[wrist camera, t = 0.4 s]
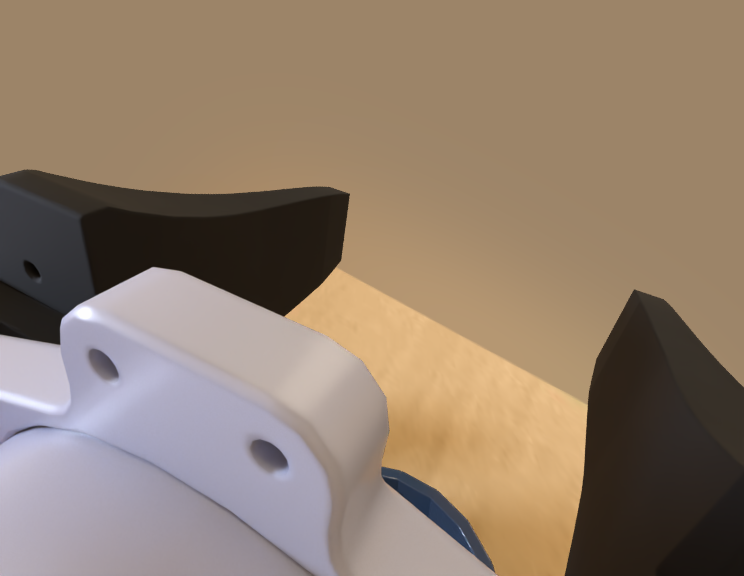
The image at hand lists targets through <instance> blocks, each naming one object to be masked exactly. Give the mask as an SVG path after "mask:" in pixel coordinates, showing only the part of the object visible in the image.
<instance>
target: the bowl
mask: <svg viewBox="0 0 744 576" xmlns="http://www.w3.org/2000/svg"><path fill="white" fill-rule="evenodd" d="M381 476H382V478H383V480H384V481H385V482H386V483H387V484H388V485H389V486H390V487H392V488H393V489H394V490H395V491H397V492H398V493H399V494H400V495H401V496H403V497H404V498H405V499H406V500H407V501H409V502H410V503H411V504H412V505H413V506H415V507H416V508H417V509H418V510H419V511H421V512H422V513H423V514H424V515H425V516H427V517H428V518H429V519H430V520H432V521H433V522H434V523H435V524H436V525H438V526H439V527H440V528H441V529H442V530H444V531H445V532H446V533H447V534H448V535H450V536H451V537H452V538H453V539H454V540H456V541H457V542H458V543H459V544H460V545H462V546H463V547H464V548H465V549H467V550H468V551H469V552H470V553H471V554H473V555H474V556H475V557H476V558H477V559H479V560H480V561H481V562H482V563H483V564H485V565H486V566H487V567H488V568H489V569H491V570H492V571H493V572H494V573H495V570H494V567H493V564H492V561H491V560H490V558H489V556H488V554H487V553H486V551H485V549H484V547H483V546H482V544H481V542H480V540H479V539H478V537H477V535H476V533H475V532H474V530H473V528H472V526H471V525H470V523H469V522H468V520H467V519H466V518H465V517H464V516H463V515H462V514H461V513H460V512H459V511H458V510H457V509H456V508H455V507H454V506H453V505H452V504H451V503H450V502H449V501H448V500H447V499H446V498H445V497H444V496H443V495H442V494H441V493H440V492H439V491H437V490H436V489H434V488H432V487H431V486H429V485H427V484H425V483H423V482H421V481H420V480H418V479H416V478H414V477H412V476H410V475H409V474H407V473H405V472H403V471H402V472H401V471H400V470H395V469H391V468H386V467H381Z"/></svg>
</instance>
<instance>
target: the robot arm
mask: <svg viewBox="0 0 744 576" xmlns="http://www.w3.org/2000/svg"><path fill="white" fill-rule="evenodd" d="M349 196H350V194H348V193H346V192H342V191H340V190H337V189H334V188H331V187H303V188H293V189H282V190H273V191H263V192H248V193H234V194H180V193H167V192H154V191H143V190H135V189H128V188H120V187H114V186H108V185H102V184H96V183H91V182H86V181H81V180H77V179H72V178H68V177H63V176H59V175H54V174H50V173H45V172H42V171H37V170H22V171H18V172H14V173H10V174H6V175H2V176H0V576H498V575H497V574H496V573H494V572H493V571H492V570H491V569H489V568H488V567H487V566H486V565H485V564H483V563H482V562H481V561H480V560H479V559H477V558H476V557H475V556H474V555H473V554H471V553H470V552H469V551H468V550H467V549H465V548H464V547H463V546H462V545H460V544H459V543H458V542H457V541H456V540H454V539H453V538H452V537H451V536H450V535H448V534H447V533H446V532H445V531H444V530H442V529H441V528H440V527H439V526H438V525H436V524H435V523H434V522H433V521H432V520H430V519H429V518H428V517H427V516H425V515H424V514H423V513H422V512H421V511H419V510H418V509H417V508H416V507H415V506H413V505H412V504H411V503H410V502H409V501H407V500H406V499H405V498H404V497H403V496H401V495H400V494H399V493H398V492H397V491H395V490H394V489H393V488H392V487H390V486H389V485H388V484H387V483H386V482H385V481H384V480H383V478H382V476H381V467H382V458H383V454H384V450H385V446H386V442H387V438H388V434H389V422H388V411H387V401H386V396H385V395H384V393H383V392H382V390H381V389H380V387H379V385H378V384H377V382H376V381H375V379H374V378H373V376H372V375H371V373H370V372H369V370H368V369H367V367H366V366H365V364H364V363H363V361H362V360H361V359H359V358H358V357H356V356H355V355H353V354H352V353H351V352H349V351H348V350H346V349H345V348H344V347H342V346H341V345H339V344H338V343H336V342H335V341H334V340H332V339H331V338H329V337H328V336H326V335H324V334H321V333H319V332H317V331H315V330H312V329H310V328H308V327H306V326H303V325H301V324H299V323H297V322H294V321H292V320H290V319H288V318H285V317H284V316H285V315H287V314H288V313H289V312H290V311H291V310H292V309H294V308H295V307H296V306H297V305H298V304H299V303H301V302H302V301H303V300H304V299H305V298H306V297H307V296H309V295H310V294H311V293H312V292H313V291H314V290H315V289H316V288H318V287H319V286H320V285H321V284H322V283H323V282H324V281H325V279H326V278H327V277H328V276H329V275H330V274H331V272H332V271H333V270H334V269H335V267H336V266H337V265H338V264H339V262H340V261H341V257H342V249H343V241H344V233H345V226H346V218H347V210H348V203H349ZM565 576H744V387H743V386H742V385H741V384H740V383H738V381H737V380H736V379H735V378H734V377H733V376H732V375H731V374H730V373H729V372H728V371H727V370H726V369H725V368H724V367H723V366H722V365H721V364H720V363H719V362H718V361H717V360H716V358H714V356H713V355H712V354H711V353H710V352H709V351H708V349H707V348H706V347H705V346H704V345H703V344H702V343H701V341H700V340H699V339H698V338H697V337H696V335H695V334H694V333H693V332H692V331H691V330H690V328H689V327H688V326H687V325H686V324H685V322H684V321H683V320H682V319H681V317H680V316H679V315H678V314H677V313H676V312H675V310H674V309H673V308H672V307H671V306H670V305H669V304H668V303H667V302H666V301H665V300H664V299H661V298H658V297H655V296H652V295H649V294H646V293H643V292H640V291H637V290H634V291H633V293H632V294H631V296H630V298H629V300H628V302H627V303H626V305H625V307H624V309H623V311H622V313H621V315H620V316H619V318H618V320H617V322H616V324H615V326H614V328H613V330H612V331H611V333H610V335H609V337H608V339H607V341H606V343H605V344H604V346H603V348H602V350H601V352H600V353H599V355H598V357H597V359H596V364H595V368H594V372H593V376H592V381H591V385H590V390H589V399H588V412H587V428H586V446H585V463H584V476H583V485H582V492H581V498H580V503H579V508H578V513H577V519H576V524H575V529H574V534H573V539H572V544H571V548H570V553H569V558H568V563H567V568H566V572H565Z"/></svg>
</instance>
